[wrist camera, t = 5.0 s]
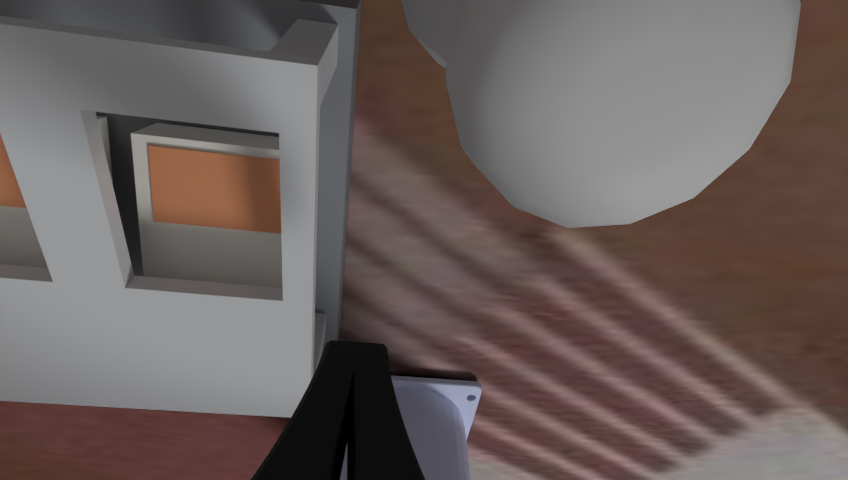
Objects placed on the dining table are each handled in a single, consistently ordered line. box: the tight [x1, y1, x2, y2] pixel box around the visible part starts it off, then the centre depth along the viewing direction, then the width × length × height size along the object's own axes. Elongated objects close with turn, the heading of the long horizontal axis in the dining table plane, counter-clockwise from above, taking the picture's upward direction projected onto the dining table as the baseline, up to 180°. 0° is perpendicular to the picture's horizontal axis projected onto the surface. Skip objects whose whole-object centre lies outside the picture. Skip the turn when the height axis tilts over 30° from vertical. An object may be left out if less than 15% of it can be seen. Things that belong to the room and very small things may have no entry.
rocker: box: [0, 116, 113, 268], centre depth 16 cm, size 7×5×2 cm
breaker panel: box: [0, 0, 362, 418], centre depth 17 cm, size 15×14×7 cm
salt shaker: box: [401, 0, 801, 228], centre depth 11 cm, size 6×6×13 cm
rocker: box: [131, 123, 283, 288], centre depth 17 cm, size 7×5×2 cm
